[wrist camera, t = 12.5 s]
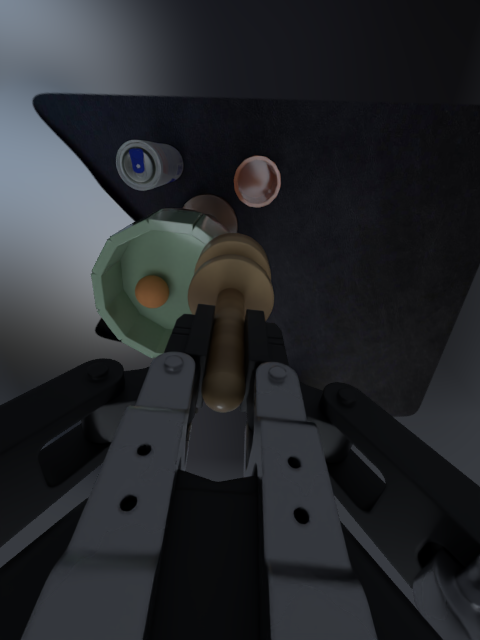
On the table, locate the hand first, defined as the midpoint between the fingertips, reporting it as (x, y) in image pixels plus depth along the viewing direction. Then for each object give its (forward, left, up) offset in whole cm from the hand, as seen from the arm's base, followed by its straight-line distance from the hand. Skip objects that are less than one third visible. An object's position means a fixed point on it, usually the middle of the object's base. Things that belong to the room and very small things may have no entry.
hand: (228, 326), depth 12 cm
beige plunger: (0, 0, -8) cm, 8 cm away
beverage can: (-4, -12, -41) cm, 43 cm away
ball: (+5, -7, -14) cm, 16 cm away
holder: (-3, +2, -41) cm, 41 cm away
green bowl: (+5, -5, -16) cm, 17 cm away
